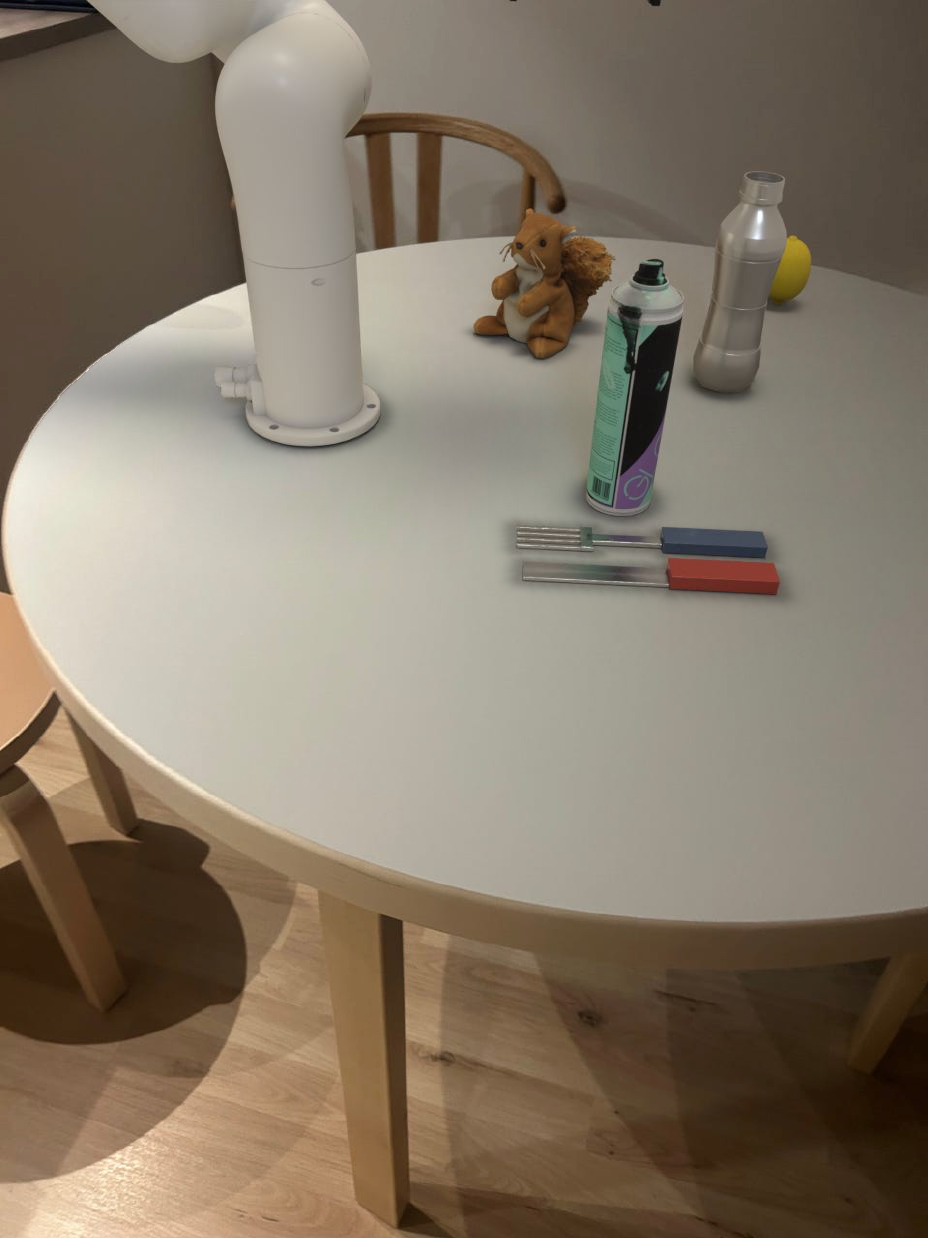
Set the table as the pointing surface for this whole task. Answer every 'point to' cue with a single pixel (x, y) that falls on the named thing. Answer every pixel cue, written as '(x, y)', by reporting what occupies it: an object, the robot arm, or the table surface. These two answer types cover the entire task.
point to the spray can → (633, 390)
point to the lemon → (791, 271)
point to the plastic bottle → (742, 285)
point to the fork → (649, 540)
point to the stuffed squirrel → (546, 284)
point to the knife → (666, 575)
